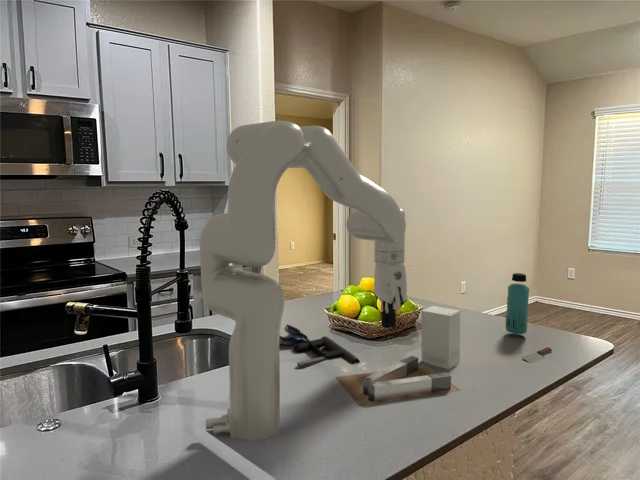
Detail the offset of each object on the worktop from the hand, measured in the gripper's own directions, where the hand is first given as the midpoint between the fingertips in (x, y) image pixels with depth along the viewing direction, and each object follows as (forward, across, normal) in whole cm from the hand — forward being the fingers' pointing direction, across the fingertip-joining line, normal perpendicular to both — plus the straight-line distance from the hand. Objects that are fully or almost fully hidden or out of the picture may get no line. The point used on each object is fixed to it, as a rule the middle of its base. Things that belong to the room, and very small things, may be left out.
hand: (388, 326), depth 121 cm
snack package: (+12, +26, +20) cm, 35 cm away
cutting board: (+11, -12, +4) cm, 17 cm away
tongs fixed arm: (+10, -17, +3) cm, 20 cm away
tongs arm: (+10, -10, +4) cm, 15 cm away
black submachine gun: (+12, +12, +15) cm, 22 cm away
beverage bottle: (+13, +12, -50) cm, 53 cm away
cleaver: (+13, -5, -44) cm, 47 cm away
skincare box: (+12, -3, -13) cm, 18 cm away
